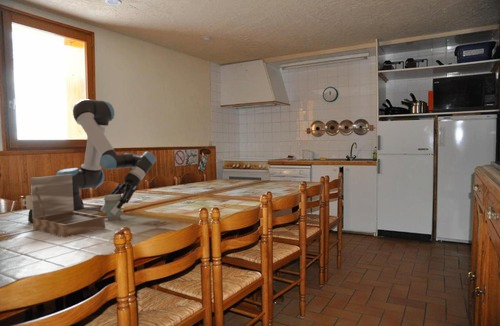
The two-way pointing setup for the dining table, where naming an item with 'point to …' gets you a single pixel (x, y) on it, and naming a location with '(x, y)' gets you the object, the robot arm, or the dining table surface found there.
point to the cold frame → (59, 208)
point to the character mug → (28, 206)
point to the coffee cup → (112, 206)
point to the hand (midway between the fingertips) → (107, 212)
